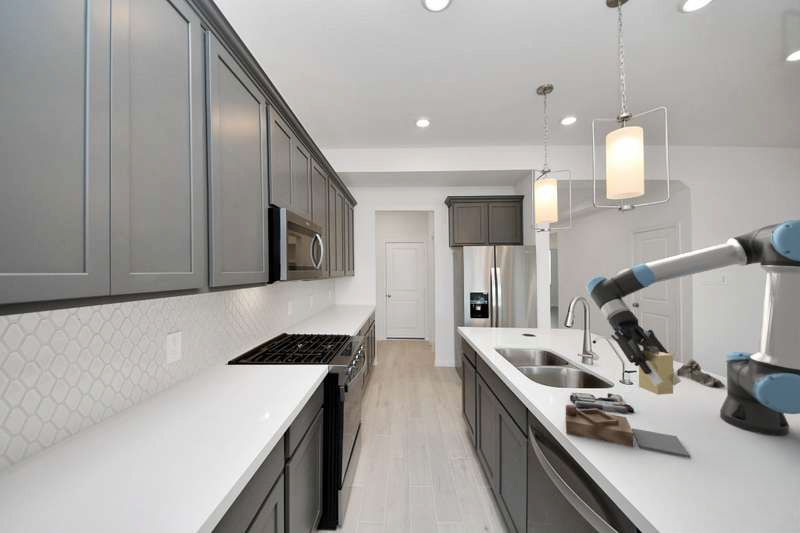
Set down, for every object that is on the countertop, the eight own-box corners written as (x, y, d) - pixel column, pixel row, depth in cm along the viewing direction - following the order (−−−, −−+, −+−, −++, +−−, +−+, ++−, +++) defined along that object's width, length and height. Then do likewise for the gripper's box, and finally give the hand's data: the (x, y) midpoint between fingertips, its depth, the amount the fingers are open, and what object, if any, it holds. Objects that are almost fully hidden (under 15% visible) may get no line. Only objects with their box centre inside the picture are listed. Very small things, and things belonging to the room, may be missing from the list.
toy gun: (618, 399, 126) (639, 417, 112) (564, 394, 130) (577, 411, 115) (619, 392, 126) (639, 409, 112) (565, 387, 130) (578, 403, 115)
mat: (676, 438, 96) (676, 436, 96) (690, 458, 86) (690, 455, 86) (631, 430, 101) (631, 428, 101) (639, 448, 91) (639, 445, 91)
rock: (670, 372, 155) (679, 353, 154) (692, 380, 154) (702, 362, 153) (700, 388, 138) (711, 367, 137) (725, 398, 137) (736, 377, 136)
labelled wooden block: (653, 385, 97) (653, 345, 97) (673, 393, 91) (673, 350, 91) (639, 386, 96) (639, 346, 96) (657, 394, 90) (657, 351, 91)
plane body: (625, 429, 102) (625, 408, 102) (633, 447, 91) (633, 424, 91) (565, 418, 109) (565, 399, 109) (566, 433, 99) (566, 412, 99)
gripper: (636, 322, 110) (685, 387, 94) (589, 323, 108) (631, 391, 91) (650, 308, 105) (705, 375, 89) (601, 309, 102) (649, 379, 86)
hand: (668, 383), depth 90 cm, fingers closed on labelled wooden block, 5 cm apart
